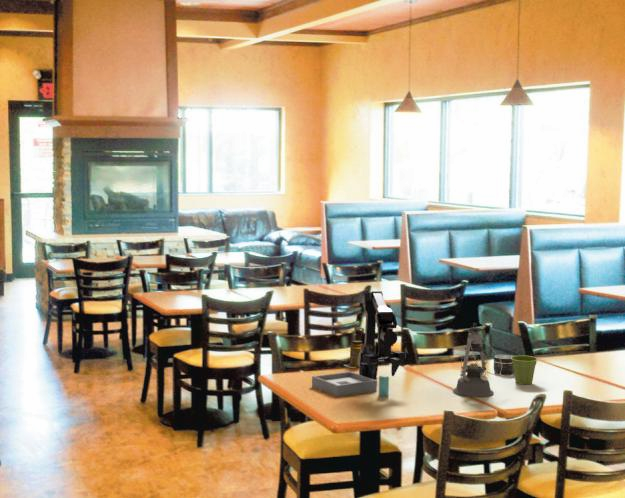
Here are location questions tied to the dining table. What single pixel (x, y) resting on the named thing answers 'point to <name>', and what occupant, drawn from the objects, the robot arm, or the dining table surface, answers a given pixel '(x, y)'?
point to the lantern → (474, 370)
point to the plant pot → (524, 368)
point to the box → (344, 383)
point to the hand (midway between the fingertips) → (383, 377)
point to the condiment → (354, 353)
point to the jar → (503, 364)
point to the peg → (383, 386)
